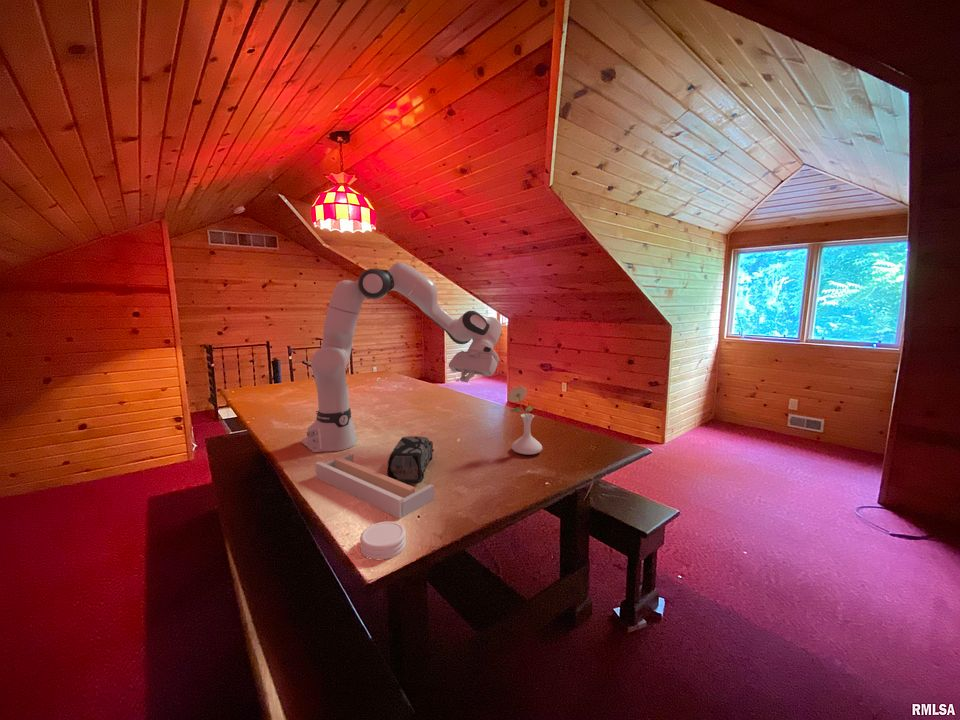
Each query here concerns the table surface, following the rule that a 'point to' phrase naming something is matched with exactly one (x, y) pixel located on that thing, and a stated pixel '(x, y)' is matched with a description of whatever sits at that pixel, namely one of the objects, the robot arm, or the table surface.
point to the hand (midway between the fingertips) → (463, 381)
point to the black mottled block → (410, 459)
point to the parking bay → (373, 490)
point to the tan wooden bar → (374, 477)
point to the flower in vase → (526, 441)
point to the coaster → (383, 540)
